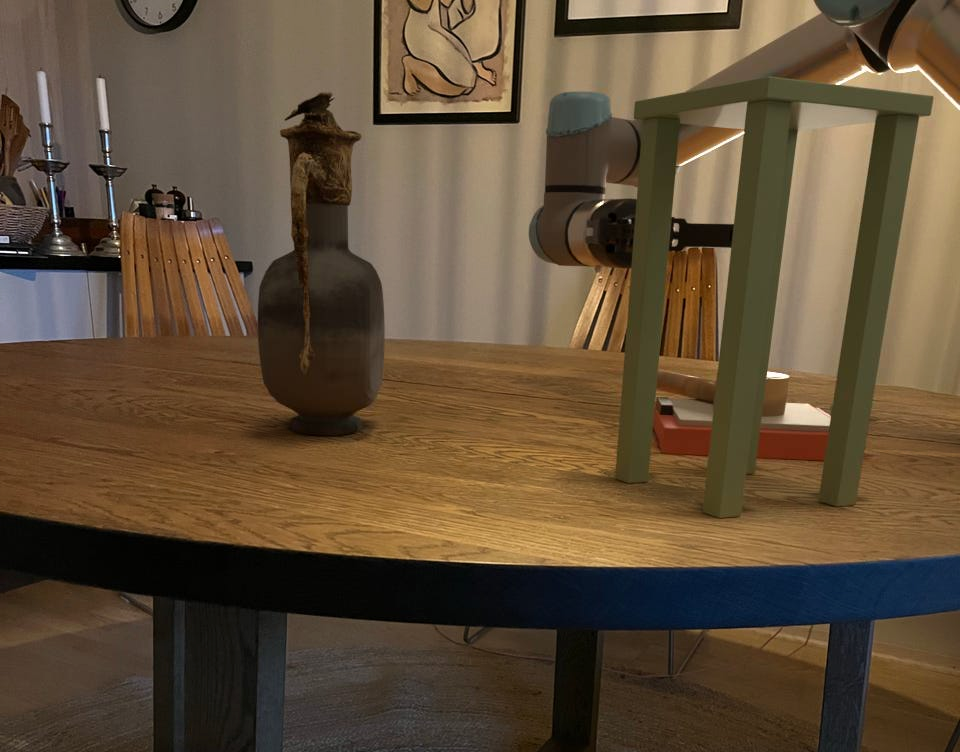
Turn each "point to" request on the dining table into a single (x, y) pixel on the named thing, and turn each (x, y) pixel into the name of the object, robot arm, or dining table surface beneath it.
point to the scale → (780, 436)
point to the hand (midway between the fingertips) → (726, 234)
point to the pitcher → (321, 289)
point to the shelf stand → (764, 269)
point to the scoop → (707, 388)
